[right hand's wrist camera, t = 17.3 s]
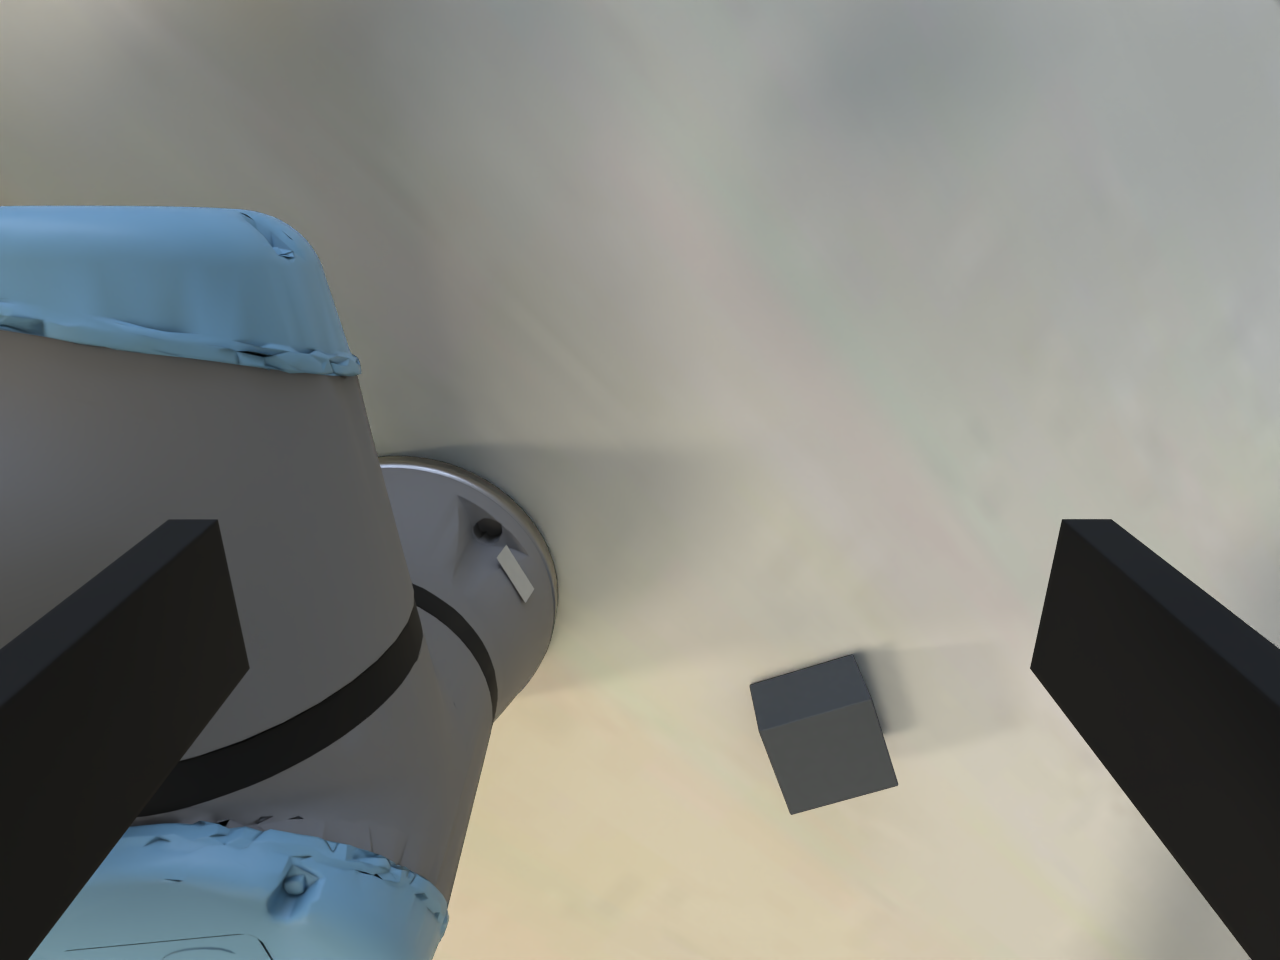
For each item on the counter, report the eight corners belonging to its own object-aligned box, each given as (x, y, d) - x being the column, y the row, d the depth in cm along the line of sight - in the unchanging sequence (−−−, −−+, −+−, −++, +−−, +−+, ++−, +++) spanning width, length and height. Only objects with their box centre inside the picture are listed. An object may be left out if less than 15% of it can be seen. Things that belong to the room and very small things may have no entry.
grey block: (779, 764, 48) (790, 815, 44) (749, 684, 46) (758, 731, 42) (878, 736, 47) (898, 786, 43) (852, 653, 45) (871, 698, 41)
